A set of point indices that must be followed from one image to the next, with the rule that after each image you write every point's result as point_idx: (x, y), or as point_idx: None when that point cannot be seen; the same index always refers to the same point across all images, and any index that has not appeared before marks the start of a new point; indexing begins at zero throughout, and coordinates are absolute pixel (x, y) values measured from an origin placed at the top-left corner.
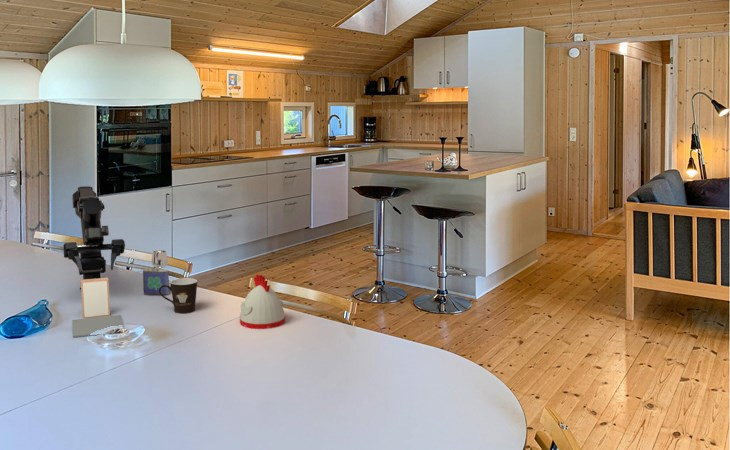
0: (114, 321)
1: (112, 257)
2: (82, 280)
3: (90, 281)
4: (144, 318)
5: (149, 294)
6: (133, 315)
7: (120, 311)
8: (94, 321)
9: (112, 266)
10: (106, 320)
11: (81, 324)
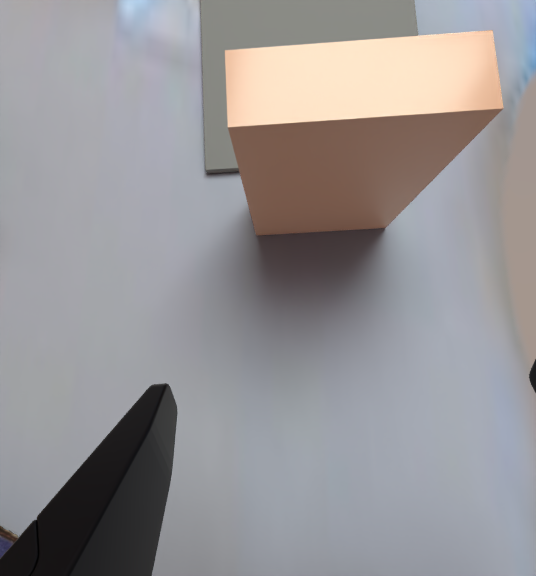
0: None
1: (56, 548)
2: (480, 73)
3: (396, 40)
4: (104, 110)
5: None
6: (148, 170)
7: (204, 257)
8: None
9: (143, 402)
10: None
11: None
